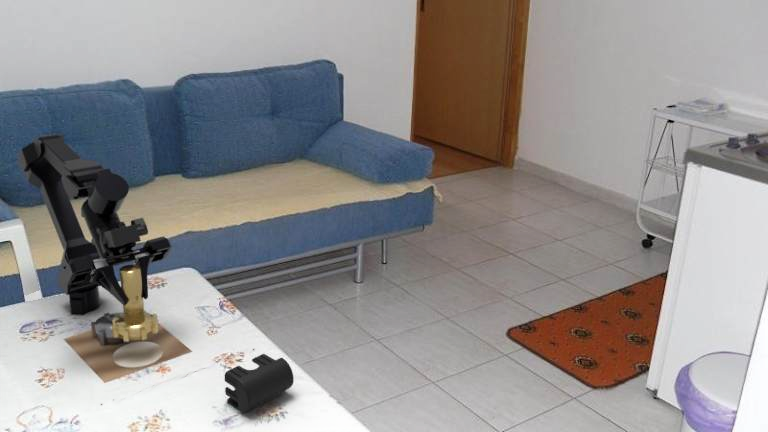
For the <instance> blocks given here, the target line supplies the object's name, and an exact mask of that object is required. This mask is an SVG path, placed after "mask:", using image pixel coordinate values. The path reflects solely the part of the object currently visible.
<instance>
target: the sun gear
mask: <svg viewBox="0 0 768 432" xmlns="http://www.w3.org/2000/svg"><path fill="white" fill-rule="evenodd" d="M122 315H124V312H112V313H111V312H110V313H109V312H106V313H103V316H100V317H99V318H97V319H96V321H92V322H91V324H90V325H91V330H92V336H93V338H96V340H97V341H98V342H99V343H100V346H104V347H105V346H106V345H119V344H123V345H126V344H129V342H126V341H124V339H121V338H119V337H116V338H114V337H113V333H112V326H113V322H112V320H113V319H114V318H118V317H120V316H122ZM130 341H131V340H130Z"/></svg>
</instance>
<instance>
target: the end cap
mask: <svg viewBox="0 0 768 432" xmlns="http://www.w3.org/2000/svg"><path fill="white" fill-rule="evenodd" d="M251 362H253V363H254V364H255V365H257V366H258V367H256V368H255V369H254V368H253V369H246V368H243V367H242V366H240V365H237V366H235V367H233V368H230V369H229V370H227V371H225V373H224V382H226V383H227V384H228V385H230V386H232V387H233V388H234V390H233V389H231V388H230V387H228V386H226V387H225V388H224V389H225V390H224V393H225V395H226V396H227V397H228V398H227V400H226V401H227V402H226V403H227V404H228V405H229V406H230V407H232V408H234V409H235V410H237V411H238V412H240V413H246V412H248V411H250V410H253V408H256V407H258V406H259V405H262V404H263V403H265V402H268V401H269V400H271V399H273V398H274V397H277V396H278V395H280V394H282V393H284V392H286V391H288V390H289V389H291V387H292V386H293V385H294V379H295V378H294V373H293V369H292V367H291V366H290V363H289V362H287V360H285V359H284V358H283V357H280V358H277V359H274V358H272V357H270V356H268V355H267V354H265V353H263V354H262V353H261V354H259V355H257V356H255V357H254V358H252V359H251Z"/></svg>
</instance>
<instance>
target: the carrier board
mask: <svg viewBox="0 0 768 432" xmlns="http://www.w3.org/2000/svg"><path fill="white" fill-rule="evenodd" d="M63 341H64V342H65V343H67V344H68V345H69V347H70V348H71V349H72V350H73V351H74V352H75V353H76V354H77V355H78V356H79V357H80V359H81V360H83V361H84V363H86V365H87V366H88V367H89V368H90V369H91V370H92V371H93V372H94V373H95V375H97V376H98V377H99V378H100V379H101V380H102V382H103V383H104V384H106V383H109V382H111V381H114V380H117V379H120V378H122V377H125V376H129V375H131V374H133V373H137V372H139V371H142V370H144V369H147V368H148V369H149V368H151V367H153V366H156V365H159V364H161V363H165V362H167V361H170V360H173V359H176V358H179V357H182V356H184V355H188V354H190V353H192V352H193V350H191V349H190V348H189V347H188V346H186V344H185V343H183V342H182V341H180V340H179V339H178V338H177V337H176V336H175V335H173V334H172V333H171V332H170V331H168V330H167V329H166V328H165V327H164V326H163V325H161V324H160V323H159V322H158V332H157V333H152V334H151V335H150V336H148V337H147V339H145V340H141V339H137V340H131V341H129V344H126V345H123V344H119V345H106V346H105V347H104V346H100V343H99V342H98V341H97V340H96V338H93V336H92V329H90V330H87V331H84V332H81V333H78V334H75V335H72V336H71V335H70V336H68V337H65V338H63Z"/></svg>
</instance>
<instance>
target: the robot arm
mask: <svg viewBox="0 0 768 432" xmlns="http://www.w3.org/2000/svg"><path fill="white" fill-rule="evenodd" d="M19 151H20V152H19V153H18V156H17V164H18V167H19V170H20V171H21V172H22V173H23V175H24V176H25V178H26V180H27V182H28V183H30V184H31V185H32V186H34V187H35V188H37V189H38V190H39V191H40V193H41V196H42V198H43V202H44V204H45V205H46V208H47V211H48V213H49V216H50V218H51V221H52V224H53V226H54V229H55V232H56V233H57V237H58V239H59V242H60V244H61V247H62V249H63V253H62V256H61V260H60V270H59V272H58V274H57V277H56V280H57V285H58V288H59V289H60V290H61V291H62V292H64V294H65V295H66V296H69V297H68V298H69V307H70V314H71V315H75V316H85V315H87V314H88V313H92V312H95V311H97V310H98V309H100V307H101V301H100V300H101V299H100V298H101V297H100V291H99V290H100V289H99V287H101V288H103V289H104V290H106V291H107V292H108V293H109V294H110V295H112V296H113V297H114V298H115V299H116V300H117V301H118V302H119V304H121V305H122V306H123V305H124V306H125V305H126V304H127V301H126V298H125V295H124V293H123V291H122V289H121V284H120V282H119V281H118V278H117V277H116V274H115V269H114V267H116V266H120V265H123V264H126V263H130V262H132V265H138V266H140V267H141V279H142V290H143V300H147V299H148V298H149V288H148V283H149V282H148V269H149V266H150V264H154V263H157V262H160V261H163V260H165V259H166V258H167V256H168V255H169V253H170V252H171V250H172V249H173V246H172V244H171V240H170V239H168V238H167V237H165V236H160V237H157V238H155V237H154V238H151V239H148V240H146V241H145V243H144V244H143V246H142V247H140V248H137V249H133V248H135V247H136V246H137V243H138V242H141V241H142V240H141V237H142V236H146V235H149V229H148V227H147V226H148V225H147V223H146V221H145V219H144V217H140V218H136V219H133V220H131V221H130V225H127V226H126V223H125V221H121V219H120V217H119V215H118V211H119V210H120V209H121V207H122V206H123V204H124V201H125V199H126V198H127V195H128V194H129V191H130V190H129V189H130V188H129V183H128V181H127V180H126V179H124V178H123V177H122V176H121V175H118V174H116V173H113V172H112V171H111V169H110V168H109V167H107V168H104V166H103V165H102V164H100V163H98V162H96V161H95V160H89V159H88V160H87V159H83V158H82V157H81V156H80V155H79V154H78V153H77V152H76V151H75V150H74V149H73V148H72V147H71V146H70V145H69V144H67V143H66V142H65V138H64V137H63V135H62V134H58V133H54V134H53V133H52V134H47V135H46V134H45V135H40V136H38V137H36V138H34V140H33V141H32V142H31V143H29V144H28V145H26V146H25V147H23V148H22V149H21V150H19ZM62 177H63V179H62ZM70 198H71V199H72V200H81V199H84V198H85V199H86V200H84V202H83V203H82V205H81V208H80V211H81V212H80V215H81V218H84V221H85V224H86V226H87V228H88V231H89V233H90V236H91V240H90V241H89V240H87V239H86V237H85V235H84V232H83V229H82V227H81V225H80V223H79V222H80V221H79V219H78V217H77V215H76V212H75V210H74V207H73V205H72V202H71V200H70Z"/></svg>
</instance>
